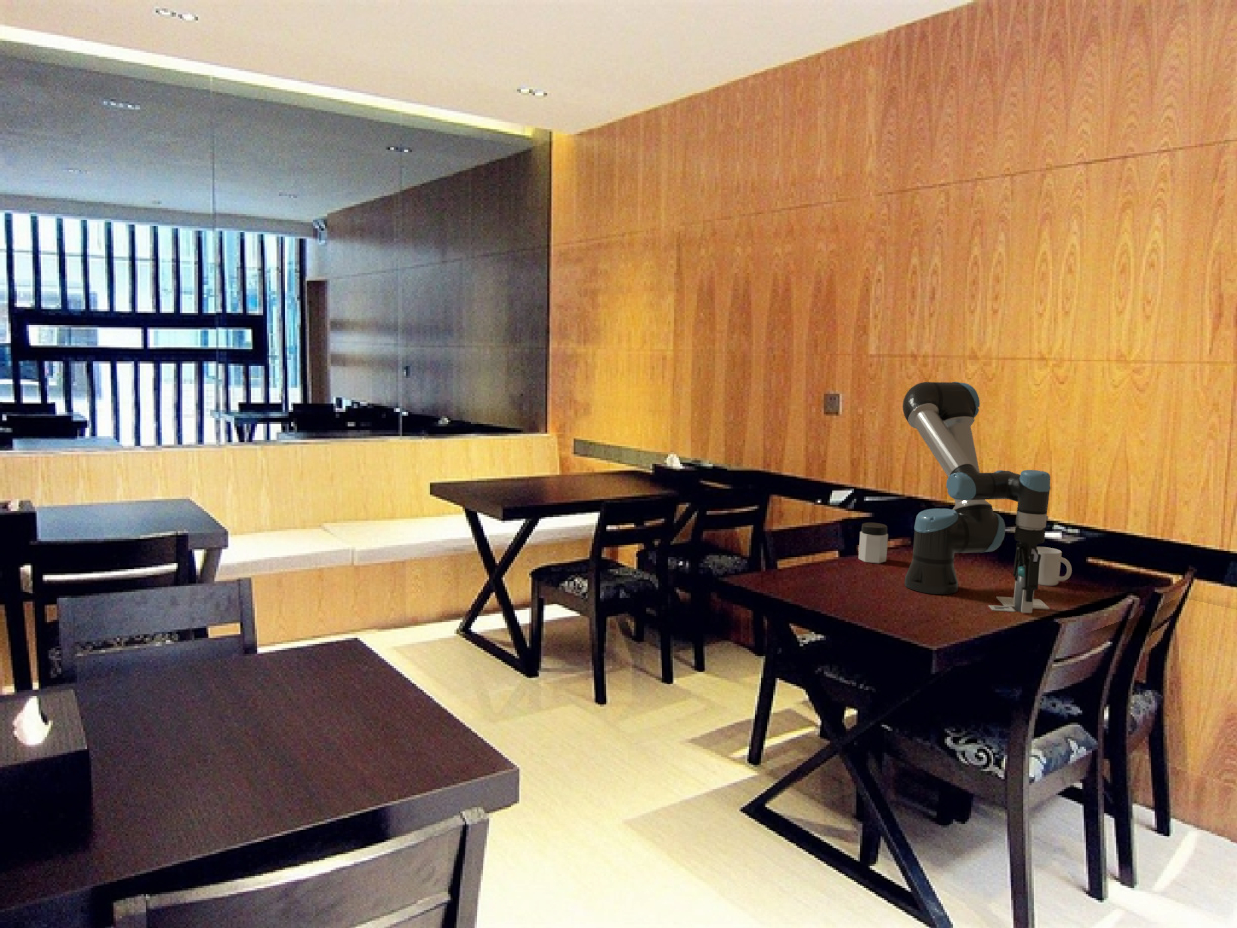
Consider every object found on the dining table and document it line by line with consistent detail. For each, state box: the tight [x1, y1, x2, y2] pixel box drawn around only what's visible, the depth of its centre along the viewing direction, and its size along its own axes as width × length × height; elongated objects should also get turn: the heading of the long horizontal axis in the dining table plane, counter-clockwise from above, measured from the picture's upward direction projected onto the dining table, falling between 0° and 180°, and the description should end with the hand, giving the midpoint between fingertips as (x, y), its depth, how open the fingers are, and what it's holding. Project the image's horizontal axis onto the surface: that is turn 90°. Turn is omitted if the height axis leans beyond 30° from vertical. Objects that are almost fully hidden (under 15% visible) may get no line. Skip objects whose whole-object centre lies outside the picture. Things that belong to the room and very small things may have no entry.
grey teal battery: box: [1014, 565, 1025, 613], centre depth 248 cm, size 4×4×13 cm
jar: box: [858, 522, 889, 564], centre depth 300 cm, size 9×8×12 cm
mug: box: [1037, 546, 1073, 587], centre depth 277 cm, size 12×8×10 cm
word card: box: [988, 604, 1016, 613], centre depth 250 cm, size 6×4×1 cm, turn 82°
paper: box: [995, 596, 1051, 610], centre depth 256 cm, size 12×9×1 cm
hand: (1022, 608), depth 249 cm, fingers open, 6 cm apart
